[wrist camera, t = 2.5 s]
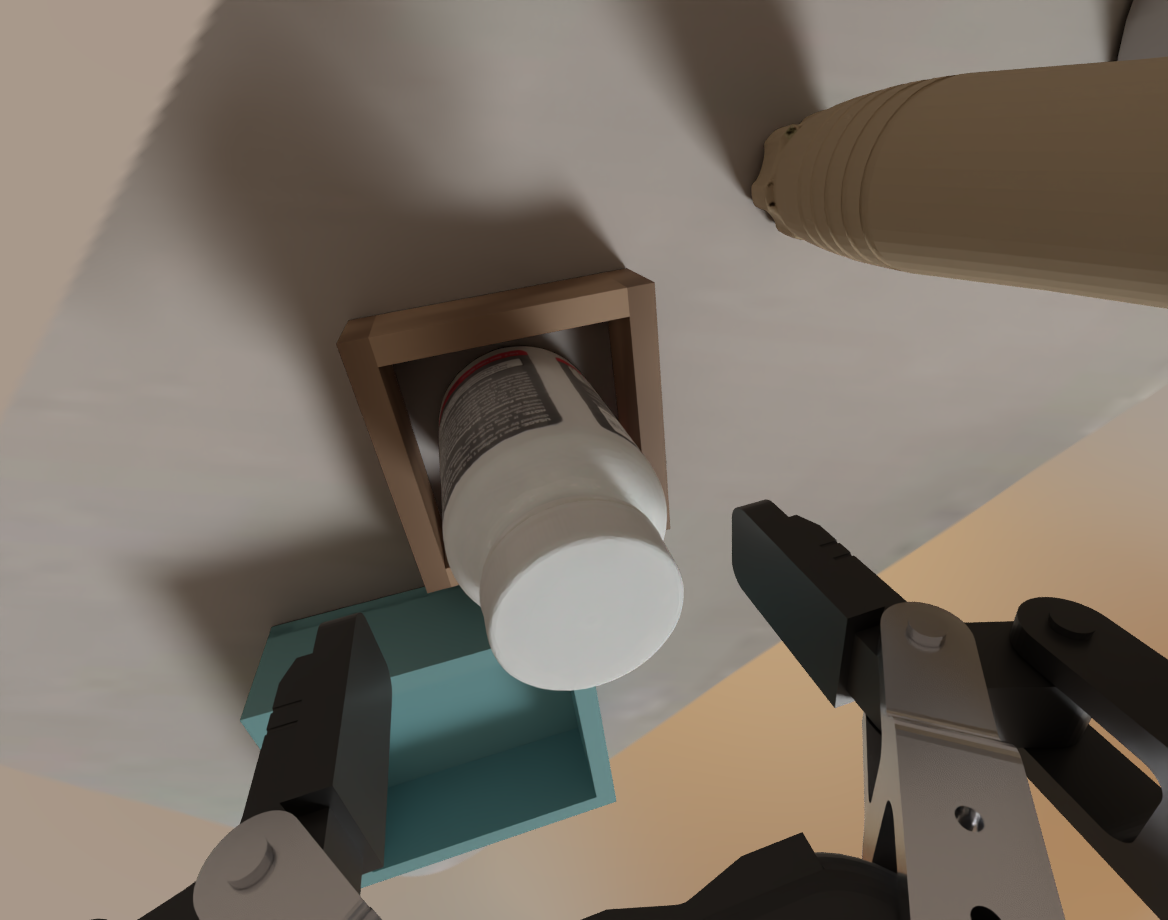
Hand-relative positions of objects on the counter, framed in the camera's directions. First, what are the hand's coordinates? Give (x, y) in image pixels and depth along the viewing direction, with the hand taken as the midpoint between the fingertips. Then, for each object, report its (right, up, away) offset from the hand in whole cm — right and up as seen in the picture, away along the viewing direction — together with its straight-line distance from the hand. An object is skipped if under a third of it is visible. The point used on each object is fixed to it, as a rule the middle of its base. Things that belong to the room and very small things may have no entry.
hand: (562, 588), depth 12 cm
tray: (-5, -7, +12) cm, 15 cm away
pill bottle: (-2, +4, +7) cm, 9 cm away
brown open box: (-2, +4, +7) cm, 8 cm away
